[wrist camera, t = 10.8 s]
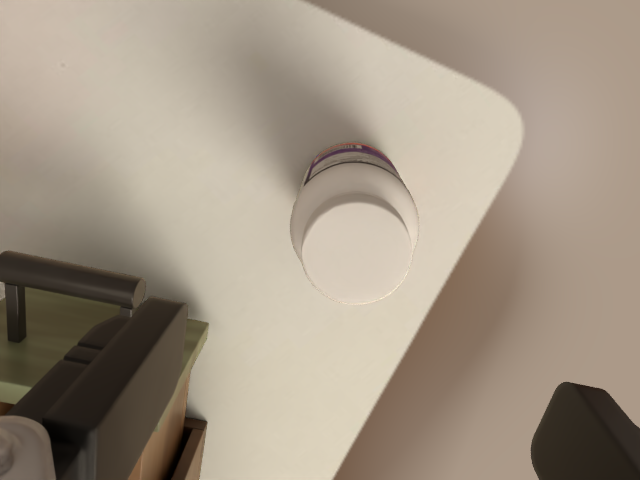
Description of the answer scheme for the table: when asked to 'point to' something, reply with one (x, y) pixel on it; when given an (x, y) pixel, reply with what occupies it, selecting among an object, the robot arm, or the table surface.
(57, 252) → the table surface
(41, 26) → the table surface
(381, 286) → the pill bottle
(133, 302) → the drawer
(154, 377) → the robot arm
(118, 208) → the table surface
